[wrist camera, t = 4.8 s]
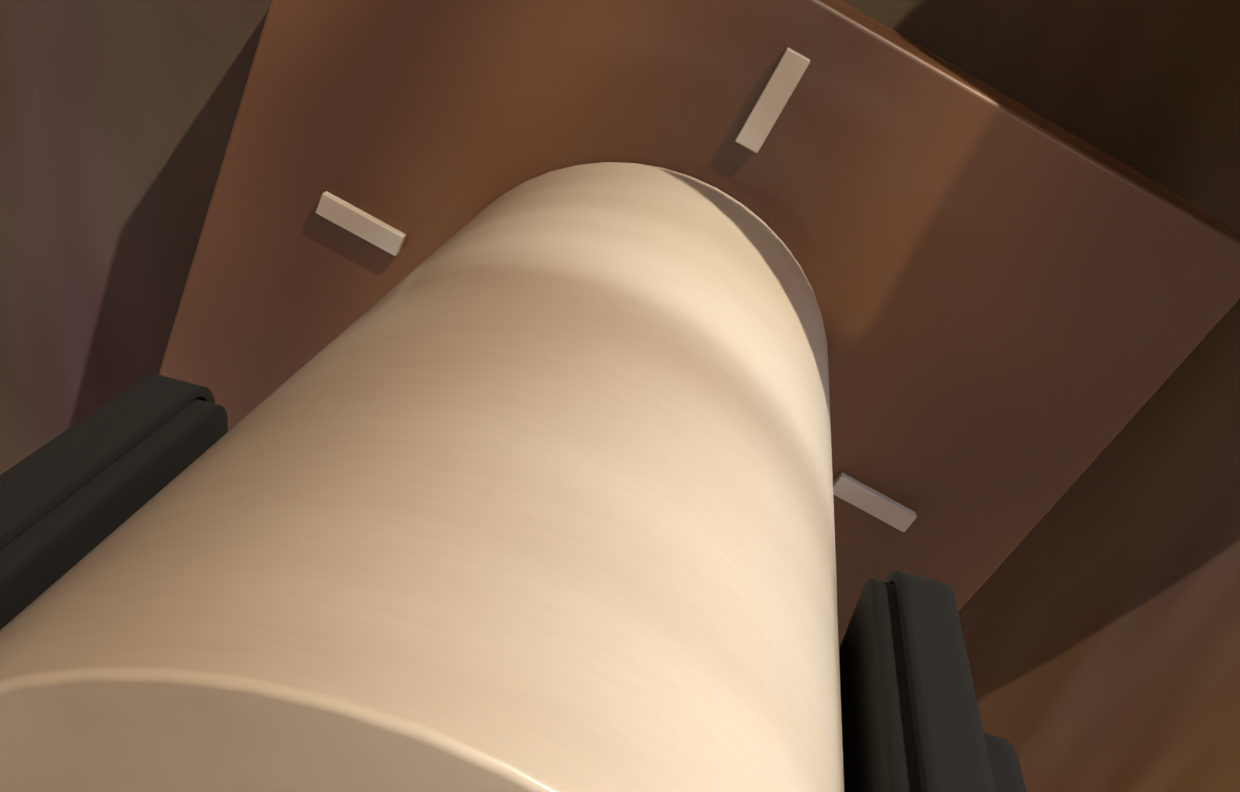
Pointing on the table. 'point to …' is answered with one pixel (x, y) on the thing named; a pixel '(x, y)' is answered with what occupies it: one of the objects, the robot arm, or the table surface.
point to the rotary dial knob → (484, 537)
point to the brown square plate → (769, 187)
